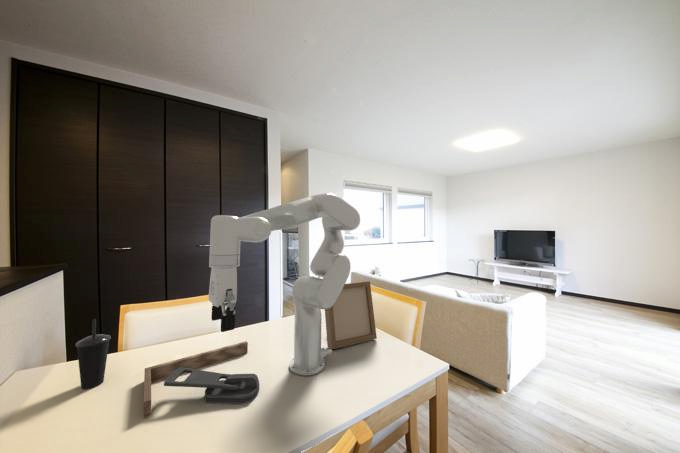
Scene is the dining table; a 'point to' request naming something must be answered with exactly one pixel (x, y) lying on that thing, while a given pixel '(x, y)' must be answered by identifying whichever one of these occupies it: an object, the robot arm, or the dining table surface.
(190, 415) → the dining table surface
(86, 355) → the drinking cup
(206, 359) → the wooden l-shaped bracket
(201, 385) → the zipper pull
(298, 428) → the dining table surface
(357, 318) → the photo frame
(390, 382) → the dining table surface
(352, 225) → the robot arm
